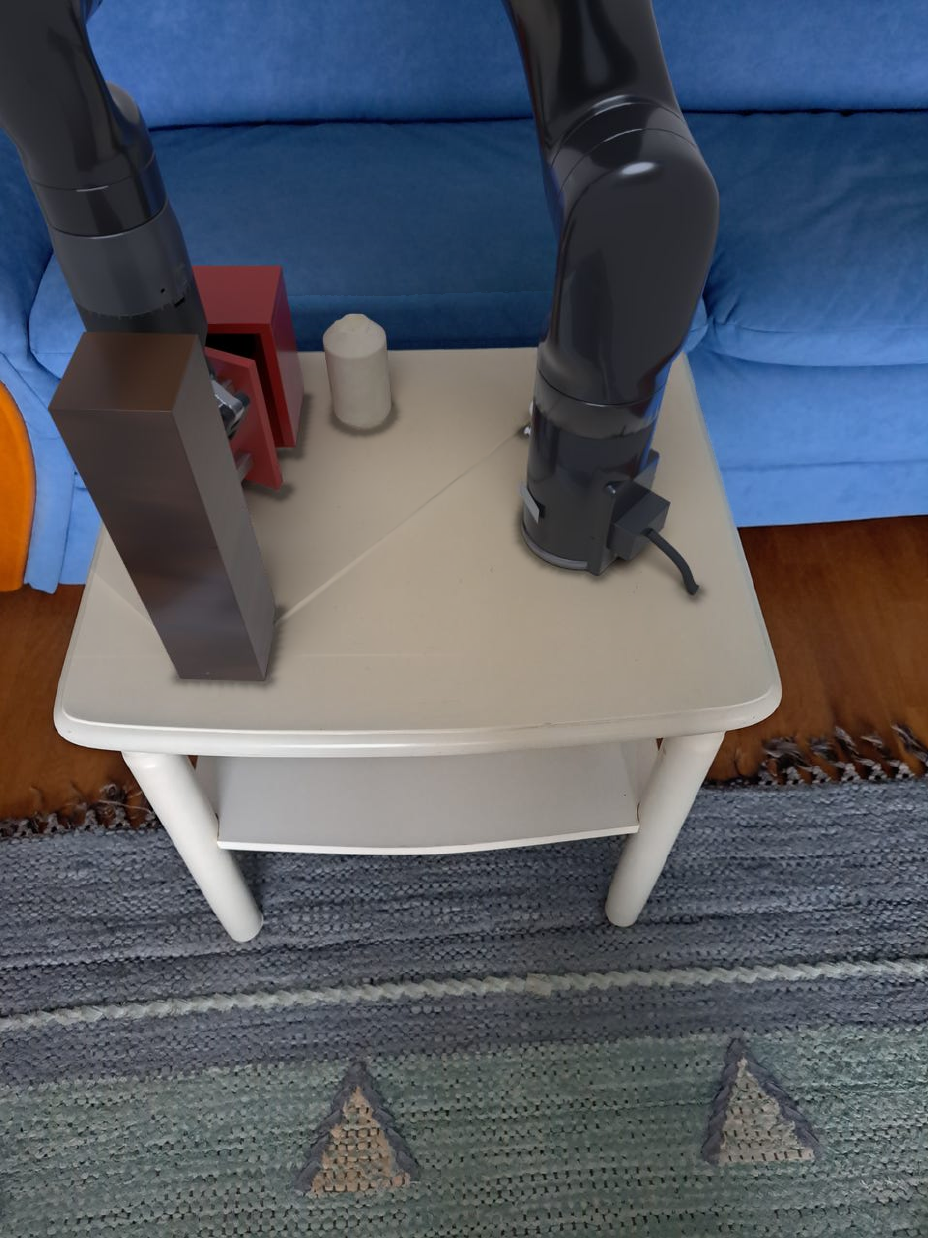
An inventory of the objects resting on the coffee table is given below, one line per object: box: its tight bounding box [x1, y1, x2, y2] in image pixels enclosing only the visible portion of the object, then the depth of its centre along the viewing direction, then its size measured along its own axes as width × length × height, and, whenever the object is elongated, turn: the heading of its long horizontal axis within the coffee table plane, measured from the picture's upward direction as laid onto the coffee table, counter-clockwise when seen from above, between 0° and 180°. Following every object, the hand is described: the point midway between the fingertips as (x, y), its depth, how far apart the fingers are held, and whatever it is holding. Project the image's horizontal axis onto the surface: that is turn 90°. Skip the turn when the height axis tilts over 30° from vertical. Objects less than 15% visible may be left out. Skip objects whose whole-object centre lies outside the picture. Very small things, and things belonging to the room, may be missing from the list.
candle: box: [322, 313, 392, 427], centre depth 79 cm, size 6×6×10 cm
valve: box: [205, 334, 256, 359], centre depth 77 cm, size 5×5×8 cm
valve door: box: [205, 347, 284, 490], centre depth 70 cm, size 7×10×14 cm, turn 68°
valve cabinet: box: [192, 264, 305, 448], centre depth 76 cm, size 8×10×14 cm
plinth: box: [47, 331, 277, 682], centre depth 57 cm, size 6×6×26 cm
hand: (200, 474), depth 68 cm, fingers closed
